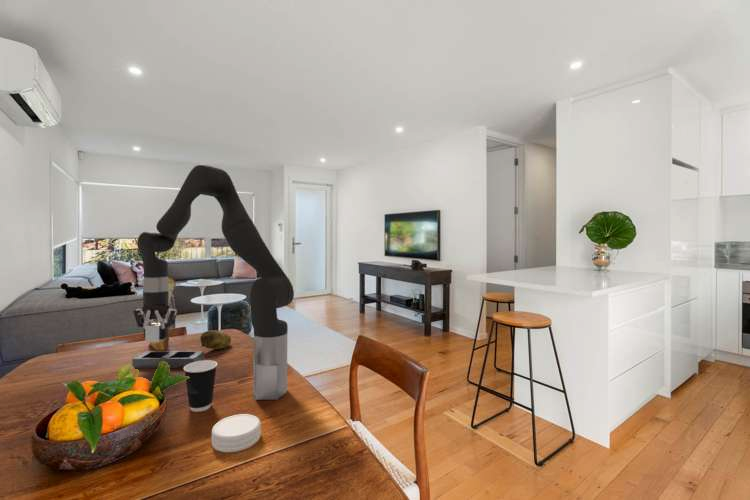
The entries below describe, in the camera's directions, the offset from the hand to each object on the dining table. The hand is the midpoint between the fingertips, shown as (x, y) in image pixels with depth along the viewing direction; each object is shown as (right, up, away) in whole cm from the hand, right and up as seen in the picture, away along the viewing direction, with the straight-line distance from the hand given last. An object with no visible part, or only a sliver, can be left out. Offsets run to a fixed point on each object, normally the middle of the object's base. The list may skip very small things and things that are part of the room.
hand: (155, 338), depth 121 cm
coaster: (+45, -11, -44) cm, 64 cm away
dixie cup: (+30, -10, -30) cm, 44 cm away
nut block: (0, -1, 0) cm, 1 cm away
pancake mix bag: (-11, -8, +21) cm, 25 cm away
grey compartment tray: (+4, -9, +1) cm, 10 cm away
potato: (+13, -9, +17) cm, 23 cm away
